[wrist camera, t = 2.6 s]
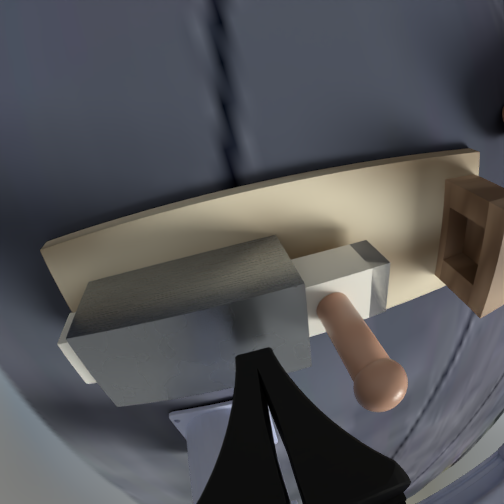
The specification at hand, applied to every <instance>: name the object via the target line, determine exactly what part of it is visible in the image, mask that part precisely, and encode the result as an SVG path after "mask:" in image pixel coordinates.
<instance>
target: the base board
mask: <svg viewBox="0 0 504 504" xmlns="http://www.w3.org/2000/svg"><path fill="white" fill-rule="evenodd" d="M479 156H480V152H478V151H476V150H473V149H470V148H468V149H457V150H448V151H439V152H431V153H423V154H415V155H407V156H400V157H393V158H386V159H380V160H373V161H367V162H361V163H355V164H349V165H343V166H337V167H332V168H326V169H321V170H316V171H310V172H305V173H300V174H295V175H290V176H285V177H280V178H276V179H271V180H266V181H262V182H257V183H253V184H248V185H244V186H239V187H235V188H231V189H227V190H222V191H218V192H214V193H210V194H206V195H202V196H198V197H194V198H190V199H186V200H182V201H179V202H175V203H171V204H167V205H164V206H160V207H156V208H153V209H149V210H146V211H142V212H139V213H135V214H132V215H128V216H125V217H122V218H118V219H115V220H112V221H108V222H105V223H102V224H99V225H95V226H92V227H89V228H86V229H83V230H80V231H77V232H74V233H71V234H68V235H65V236H62V237H59V238H56V239H53V240H50V241H47V242H46V243H45V244H44V246H43V247H42V248H41V249H40V252H41V254H42V256H43V258H44V260H45V262H46V264H47V266H48V268H49V270H50V272H51V274H52V276H53V278H54V280H55V282H56V284H57V286H58V288H59V290H60V291H61V293H62V295H63V297H64V299H65V301H66V302H67V304H68V306H69V308H70V309H71V311H72V313H74V312H76V311H77V308H78V306H79V303H80V301H81V298H82V296H83V294H84V291H85V289H86V287H87V284H88V282H90V281H94V280H98V279H101V278H105V277H109V276H113V275H117V274H121V273H125V272H128V271H132V270H136V269H140V268H144V267H148V266H152V265H156V264H160V263H164V262H167V261H171V260H175V259H179V258H183V257H187V256H191V255H195V254H199V253H203V252H207V251H211V250H215V249H219V248H223V247H227V246H231V245H235V244H239V243H243V242H247V241H251V240H255V239H260V238H264V237H268V236H272V235H276V236H277V238H278V239H279V241H280V243H281V244H282V246H283V248H284V249H285V251H286V253H287V254H288V256H289V258H290V259H291V260H292V259H296V258H300V257H303V256H307V255H311V254H315V253H319V252H322V251H326V250H330V249H334V248H338V247H341V246H345V245H349V244H353V243H356V242H360V241H364V240H367V241H368V242H369V243H370V244H371V245H372V246H373V247H374V248H376V249H377V250H378V251H379V252H380V253H381V254H382V255H383V256H384V257H385V258H386V259H387V260H388V261H389V262H390V274H389V285H388V295H387V304H386V309H388V308H391V307H393V306H396V305H399V304H401V303H404V302H406V301H409V300H412V299H414V298H417V297H419V296H422V295H424V294H427V293H429V292H432V291H434V290H436V289H439V288H441V287H443V286H446V285H445V284H444V283H443V282H442V281H441V280H440V279H439V278H438V277H436V276H435V270H436V264H437V257H438V250H439V243H440V235H441V227H442V217H443V206H444V192H445V179H451V178H456V177H462V176H467V175H473V174H475V175H477V176H478V174H479Z"/></svg>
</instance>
